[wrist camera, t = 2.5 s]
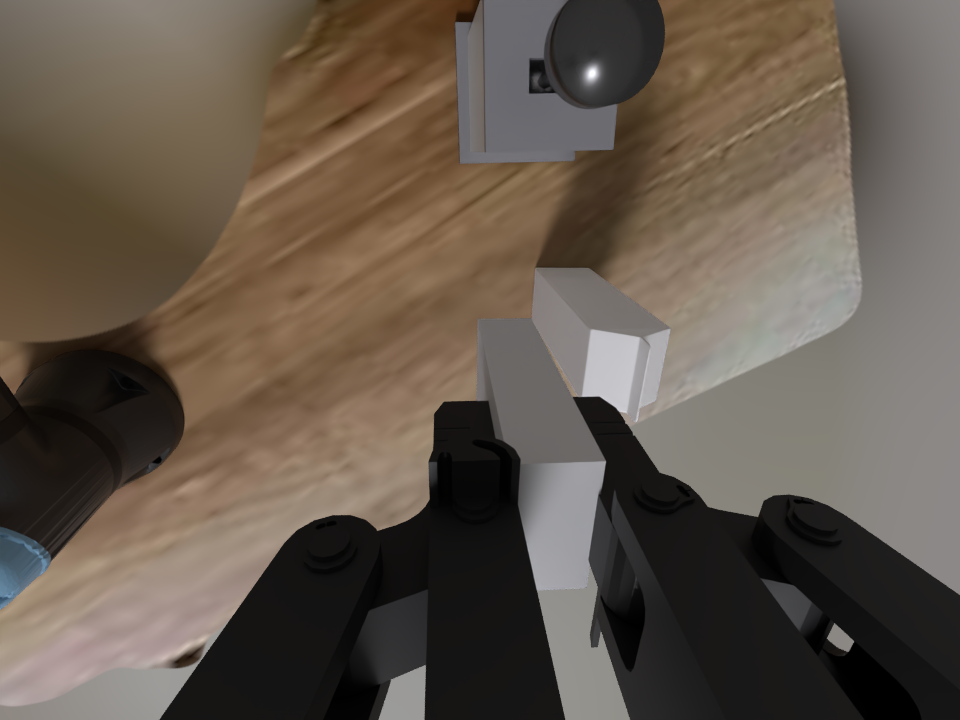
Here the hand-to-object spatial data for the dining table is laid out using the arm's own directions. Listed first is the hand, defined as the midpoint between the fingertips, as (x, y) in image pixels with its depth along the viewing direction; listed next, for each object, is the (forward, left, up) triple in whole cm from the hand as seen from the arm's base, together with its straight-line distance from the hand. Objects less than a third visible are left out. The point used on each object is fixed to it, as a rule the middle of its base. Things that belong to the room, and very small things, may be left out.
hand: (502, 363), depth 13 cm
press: (+7, +10, -37) cm, 38 cm away
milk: (+12, -9, -37) cm, 40 cm away
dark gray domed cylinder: (+7, +10, -26) cm, 29 cm away
